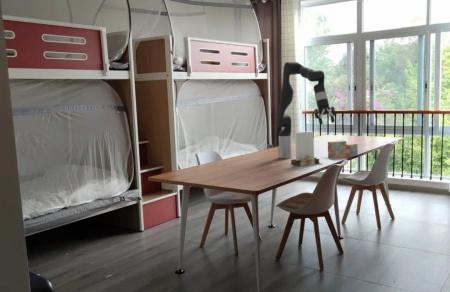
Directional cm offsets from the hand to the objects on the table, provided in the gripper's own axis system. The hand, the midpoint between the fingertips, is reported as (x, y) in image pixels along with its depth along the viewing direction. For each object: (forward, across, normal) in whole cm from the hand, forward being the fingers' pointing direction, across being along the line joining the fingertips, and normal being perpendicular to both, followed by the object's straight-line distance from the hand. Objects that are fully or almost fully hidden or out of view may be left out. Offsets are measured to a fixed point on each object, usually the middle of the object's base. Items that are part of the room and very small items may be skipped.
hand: (327, 123), depth 285 cm
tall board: (+22, +10, -23) cm, 33 cm away
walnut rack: (+24, +10, -21) cm, 34 cm away
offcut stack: (+23, +12, -18) cm, 32 cm away
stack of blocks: (+21, -31, -40) cm, 55 cm away
